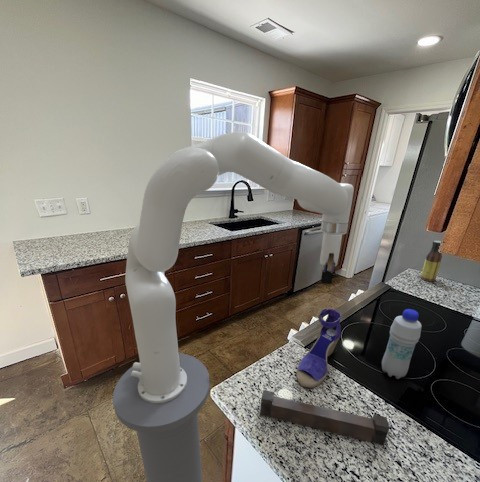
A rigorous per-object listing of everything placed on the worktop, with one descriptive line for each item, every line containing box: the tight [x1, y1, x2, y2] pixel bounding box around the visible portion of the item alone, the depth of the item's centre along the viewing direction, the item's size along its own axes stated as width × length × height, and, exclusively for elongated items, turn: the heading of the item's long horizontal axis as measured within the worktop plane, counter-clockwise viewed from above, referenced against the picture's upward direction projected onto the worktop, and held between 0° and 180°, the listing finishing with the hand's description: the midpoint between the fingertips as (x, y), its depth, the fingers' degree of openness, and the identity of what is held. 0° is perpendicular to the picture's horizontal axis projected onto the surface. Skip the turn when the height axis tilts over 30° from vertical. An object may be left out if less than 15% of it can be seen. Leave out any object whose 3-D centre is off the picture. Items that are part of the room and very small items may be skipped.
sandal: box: [296, 308, 342, 389], centre depth 73 cm, size 8×20×15 cm, turn 134°
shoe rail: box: [260, 389, 390, 446], centre depth 58 cm, size 26×2×5 cm, turn 75°
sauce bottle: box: [420, 240, 443, 283], centre depth 129 cm, size 7×6×20 cm
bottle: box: [381, 308, 423, 380], centre depth 70 cm, size 7×7×20 cm
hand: (326, 282), depth 86 cm, fingers closed
